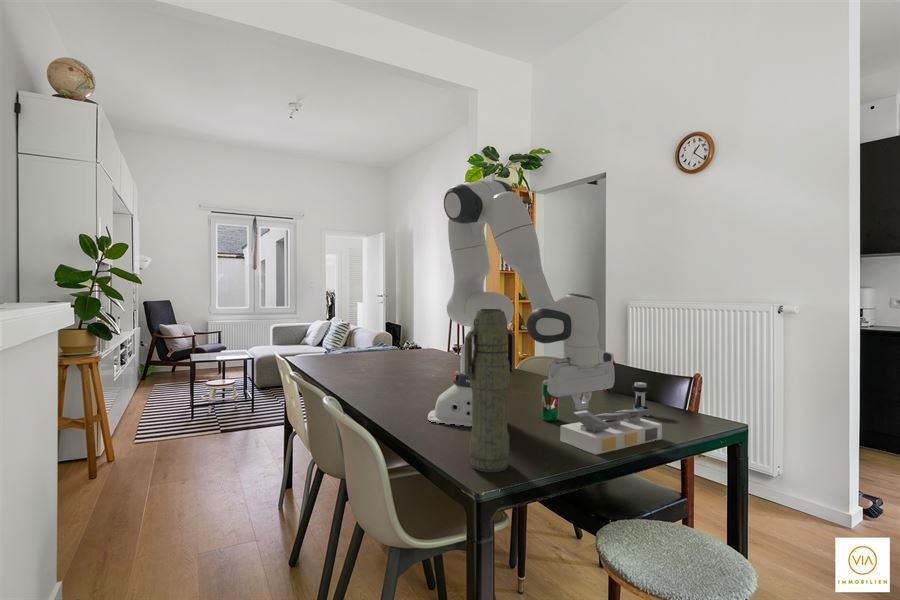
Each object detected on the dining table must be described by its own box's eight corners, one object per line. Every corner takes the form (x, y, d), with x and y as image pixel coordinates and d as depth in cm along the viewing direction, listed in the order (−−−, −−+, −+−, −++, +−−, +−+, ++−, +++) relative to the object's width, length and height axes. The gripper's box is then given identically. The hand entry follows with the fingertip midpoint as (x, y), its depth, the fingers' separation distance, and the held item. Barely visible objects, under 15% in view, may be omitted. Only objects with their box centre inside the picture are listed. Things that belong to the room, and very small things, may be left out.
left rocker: (594, 431, 114) (595, 427, 114) (571, 416, 121) (572, 412, 121) (608, 428, 117) (609, 424, 117) (585, 414, 124) (586, 409, 123)
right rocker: (638, 416, 122) (637, 411, 122) (614, 416, 129) (613, 411, 129) (650, 413, 125) (649, 408, 125) (626, 414, 131) (625, 409, 132)
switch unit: (596, 455, 111) (596, 433, 111) (560, 440, 122) (560, 421, 122) (662, 439, 124) (662, 420, 124) (624, 427, 134) (624, 410, 134)
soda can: (559, 418, 144) (559, 379, 144) (557, 422, 139) (558, 382, 139) (542, 416, 146) (543, 378, 145) (540, 421, 141) (541, 381, 141)
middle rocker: (617, 420, 118) (616, 414, 118) (594, 420, 125) (593, 415, 125) (630, 417, 121) (629, 412, 121) (607, 417, 127) (606, 413, 128)
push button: (655, 416, 147) (655, 385, 146) (640, 417, 145) (640, 385, 145) (642, 411, 153) (642, 381, 153) (627, 412, 152) (628, 381, 152)
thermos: (456, 463, 105) (457, 308, 105) (498, 454, 111) (500, 308, 111) (477, 476, 98) (478, 310, 97) (522, 466, 103) (523, 309, 103)
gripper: (558, 361, 113) (559, 418, 113) (618, 354, 122) (618, 406, 123) (541, 358, 118) (542, 412, 119) (600, 351, 128) (600, 401, 128)
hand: (581, 409), depth 121 cm, fingers closed
